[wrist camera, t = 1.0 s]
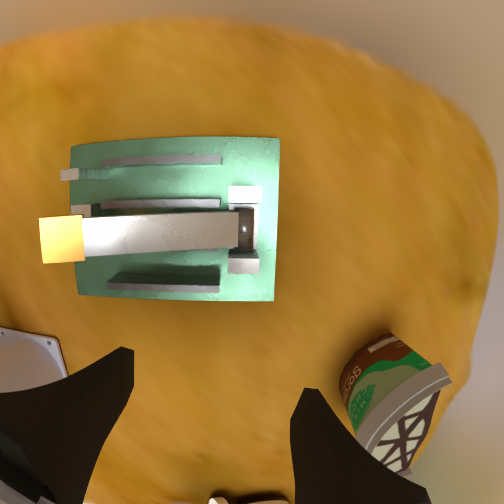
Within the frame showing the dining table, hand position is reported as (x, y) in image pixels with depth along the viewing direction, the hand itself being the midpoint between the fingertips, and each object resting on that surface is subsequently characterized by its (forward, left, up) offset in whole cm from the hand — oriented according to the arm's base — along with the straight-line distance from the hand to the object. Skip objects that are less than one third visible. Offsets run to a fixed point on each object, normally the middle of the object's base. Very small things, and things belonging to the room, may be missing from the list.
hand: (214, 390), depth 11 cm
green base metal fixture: (-4, +5, -12) cm, 14 cm away
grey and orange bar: (-4, +5, -7) cm, 9 cm away
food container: (+13, -10, -13) cm, 20 cm away
